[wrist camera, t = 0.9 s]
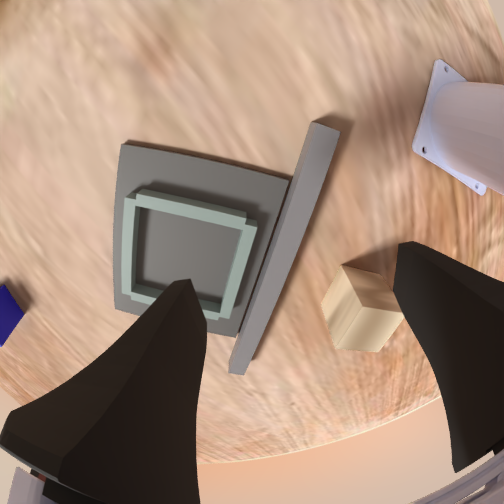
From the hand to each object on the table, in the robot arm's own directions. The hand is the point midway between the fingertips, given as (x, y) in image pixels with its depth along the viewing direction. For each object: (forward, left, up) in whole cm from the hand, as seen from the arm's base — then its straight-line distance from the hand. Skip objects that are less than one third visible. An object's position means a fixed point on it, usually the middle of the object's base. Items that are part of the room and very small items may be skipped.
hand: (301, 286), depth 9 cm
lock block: (-8, +6, -10) cm, 14 cm away
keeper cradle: (+5, +6, -10) cm, 12 cm away
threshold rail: (-1, +6, -10) cm, 11 cm away
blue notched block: (+31, +21, -10) cm, 39 cm away
